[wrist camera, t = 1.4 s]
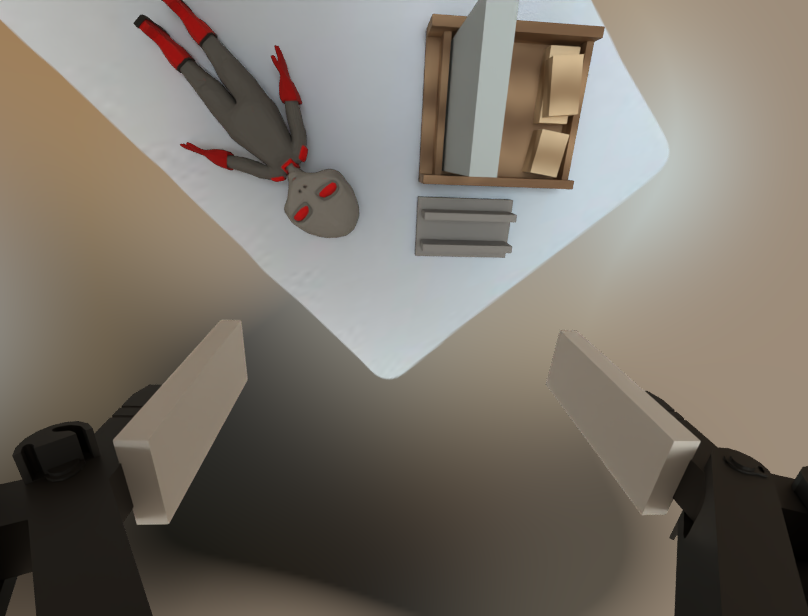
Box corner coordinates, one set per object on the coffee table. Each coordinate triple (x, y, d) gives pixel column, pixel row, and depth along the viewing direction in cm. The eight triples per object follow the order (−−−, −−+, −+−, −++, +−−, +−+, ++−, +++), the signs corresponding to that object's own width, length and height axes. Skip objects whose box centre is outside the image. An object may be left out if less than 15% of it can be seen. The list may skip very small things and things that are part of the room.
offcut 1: (544, 49, 45) (551, 45, 43) (572, 51, 45) (580, 47, 43) (532, 123, 48) (539, 122, 46) (559, 125, 48) (566, 123, 46)
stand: (415, 254, 54) (418, 262, 50) (417, 196, 51) (421, 200, 47) (502, 255, 55) (513, 264, 51) (510, 199, 52) (522, 203, 48)
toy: (194, -60, 36) (390, 191, 41) (240, -5, 46) (396, 195, 50) (93, 59, 39) (287, 280, 44) (155, 88, 49) (310, 268, 53)
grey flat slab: (449, 43, 44) (487, -14, 29) (471, 44, 44) (520, -12, 29) (440, 170, 49) (469, 176, 34) (460, 171, 49) (496, 177, 35)
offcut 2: (533, 130, 48) (542, 129, 45) (558, 136, 49) (569, 134, 46) (521, 171, 50) (530, 172, 47) (546, 176, 50) (556, 177, 48)
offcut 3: (545, 60, 44) (553, 55, 42) (574, 58, 44) (583, 54, 42) (541, 117, 46) (548, 116, 44) (569, 115, 46) (577, 114, 44)
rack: (426, 28, 44) (432, 14, 39) (581, 39, 46) (604, 26, 41) (418, 181, 50) (423, 183, 46) (554, 186, 52) (572, 189, 47)
